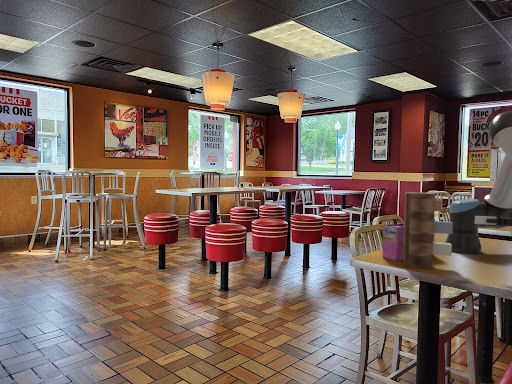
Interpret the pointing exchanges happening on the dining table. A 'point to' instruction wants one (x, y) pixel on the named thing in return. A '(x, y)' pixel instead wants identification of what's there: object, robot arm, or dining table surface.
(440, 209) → the red key
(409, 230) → the brown tall box
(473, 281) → the dining table surface
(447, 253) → the white rectangular block
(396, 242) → the gum box
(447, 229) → the blue-grey rectangular block
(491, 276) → the dining table surface
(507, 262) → the dining table surface
